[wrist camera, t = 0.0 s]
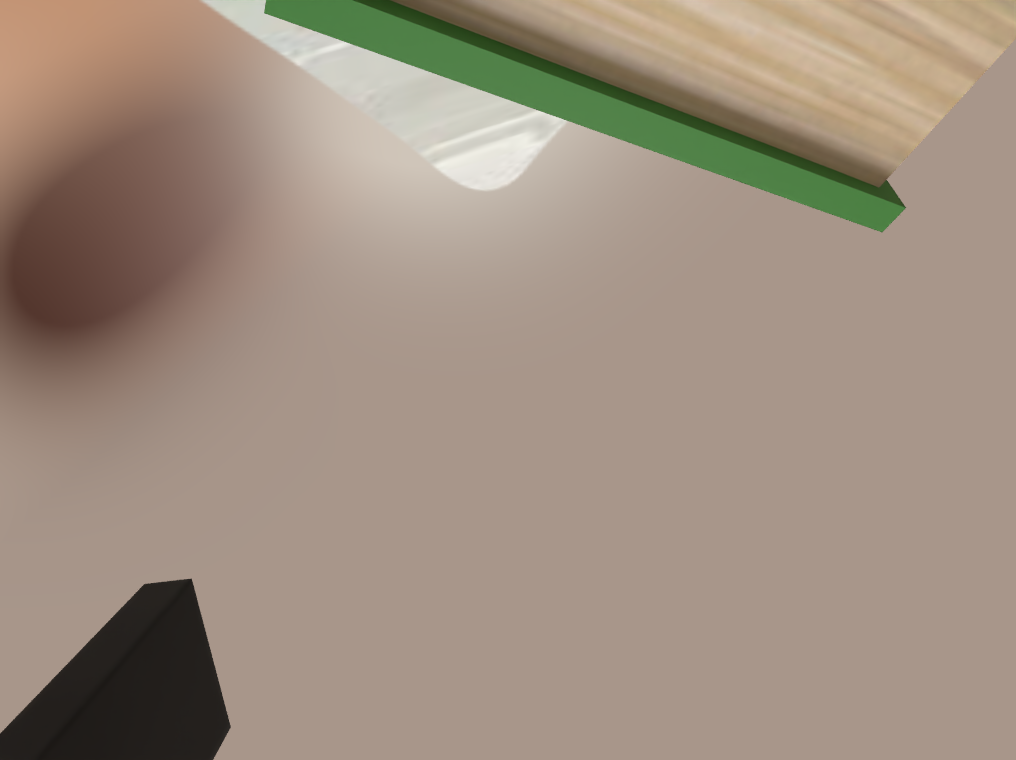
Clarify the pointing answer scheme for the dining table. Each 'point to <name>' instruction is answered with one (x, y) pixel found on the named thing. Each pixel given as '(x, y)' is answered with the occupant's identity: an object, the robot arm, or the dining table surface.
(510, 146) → the dining table surface
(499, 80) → the hardback book
